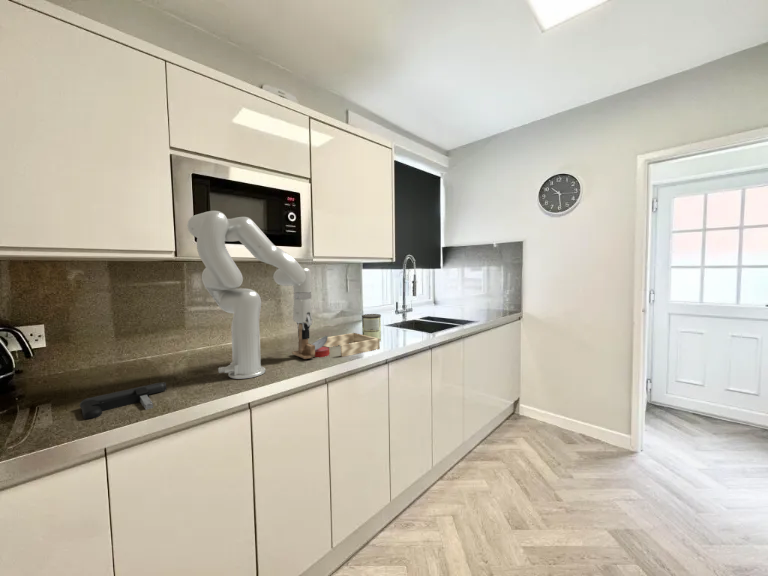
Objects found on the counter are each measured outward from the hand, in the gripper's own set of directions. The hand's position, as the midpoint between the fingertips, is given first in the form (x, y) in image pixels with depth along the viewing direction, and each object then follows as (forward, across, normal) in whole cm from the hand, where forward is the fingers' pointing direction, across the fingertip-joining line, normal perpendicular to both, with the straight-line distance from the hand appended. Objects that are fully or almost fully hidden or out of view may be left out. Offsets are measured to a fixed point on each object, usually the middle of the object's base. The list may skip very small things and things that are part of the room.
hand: (303, 337), depth 140 cm
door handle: (+9, +13, -61) cm, 63 cm away
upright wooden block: (+8, 0, 0) cm, 8 cm away
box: (+9, 0, +23) cm, 25 cm away
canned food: (+9, 0, +7) cm, 11 cm away
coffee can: (+9, -7, +43) cm, 44 cm away
